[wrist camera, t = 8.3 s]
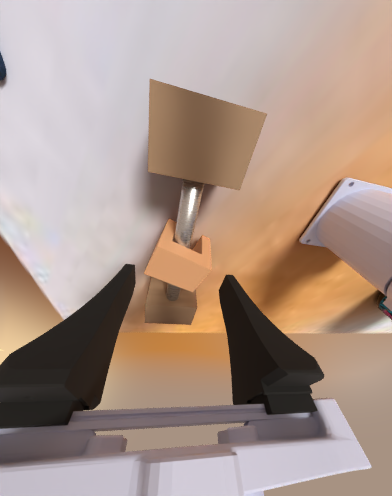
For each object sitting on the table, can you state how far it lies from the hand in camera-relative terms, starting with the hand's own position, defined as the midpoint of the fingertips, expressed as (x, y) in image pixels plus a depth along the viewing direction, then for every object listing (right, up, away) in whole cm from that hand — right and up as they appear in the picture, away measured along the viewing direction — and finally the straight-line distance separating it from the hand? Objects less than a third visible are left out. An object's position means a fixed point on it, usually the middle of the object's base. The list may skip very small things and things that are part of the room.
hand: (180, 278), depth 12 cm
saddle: (0, +3, +5) cm, 6 cm away
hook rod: (0, +3, +3) cm, 4 cm away
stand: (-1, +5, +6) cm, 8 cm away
